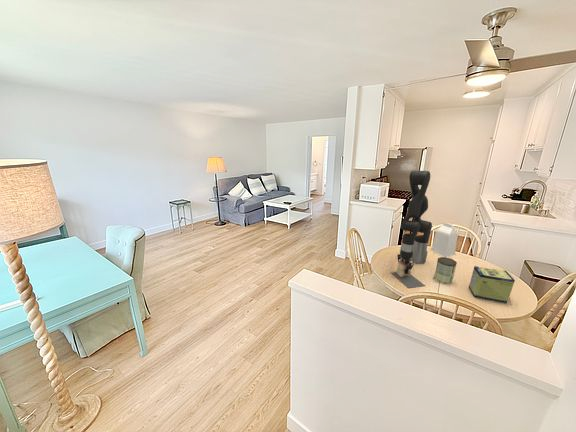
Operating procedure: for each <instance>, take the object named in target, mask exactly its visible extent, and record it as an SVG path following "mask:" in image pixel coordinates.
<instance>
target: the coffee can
mask: <svg viewBox="0 0 576 432" xmlns="http://www.w3.org/2000/svg"><path fill="white" fill-rule="evenodd" d="M457 263H458V262H457V261H456V260H454V259H453V258H450V257H443V256H441V257H438V258H437V262H436V268H435V271H434V277H433V278H434V280H435V281H437V282H438V283H441V284H446V285H447V284H448V285H451V284H452V283H453V279H454V276H455V273H456V272H455V271H456V267H457Z"/></svg>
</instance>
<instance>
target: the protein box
mask: <svg viewBox="0 0 576 432" xmlns="http://www.w3.org/2000/svg"><path fill="white" fill-rule="evenodd" d="M515 281H516V280H515V279H514V277H513V276H512V275H511V274H510V273H509V272H508V271H507V270H504V269H498V268H491V267H482V266H477V265H474V267H473V269H472V274H471V277H470V281H469V286H468V289H469V290H470V292H471V294H472V296H473V297H474V298H477V299H482V300H488V301H493V302H497V303H498V302H499V303H502V302H503V304H508V302H509V300H510V297H511V293H512V289H513V287H514V284H515Z"/></svg>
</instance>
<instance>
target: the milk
mask: <svg viewBox="0 0 576 432" xmlns="http://www.w3.org/2000/svg"><path fill="white" fill-rule="evenodd" d="M458 235H459V233H458V232H457V230H456V229H455V225H454V224H452V223H448V222H444V223H443V225H442V224H441V226H440V227H439V228H438V229H437V230H436V231H435V235H434V239H433V242H432V246H431V250H430V252H431V251H433V252H432V253H434V252H435V253H434V254H436V253H437V255H438V254H439V256H441V255H442V256H441V257H443V256H444V257H446V258H448V257H447V256H449V257H451V256H450V255H452V256H454V254H455V255H456V251H457V250H456V249H457V242H458Z"/></svg>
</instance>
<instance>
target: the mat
mask: <svg viewBox="0 0 576 432" xmlns="http://www.w3.org/2000/svg"><path fill="white" fill-rule="evenodd" d="M396 273H397V271H394V272H391V274H392V276H394V278H396V279H397V280H398V281H399V282H400V283H401V284H402V285H404V286H405V287H406V288H407V289H414V288H421V287H426V285H425V284H424V283H423V282H422V281H420V280H419V279H418V278H417V277H415V276H413V275H412V273H410V276H404V277H400V276H399V275H398V274H396Z"/></svg>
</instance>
